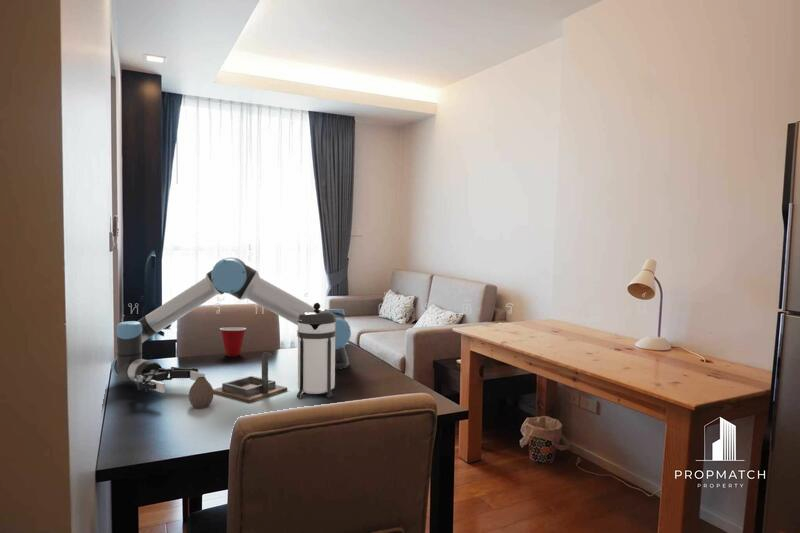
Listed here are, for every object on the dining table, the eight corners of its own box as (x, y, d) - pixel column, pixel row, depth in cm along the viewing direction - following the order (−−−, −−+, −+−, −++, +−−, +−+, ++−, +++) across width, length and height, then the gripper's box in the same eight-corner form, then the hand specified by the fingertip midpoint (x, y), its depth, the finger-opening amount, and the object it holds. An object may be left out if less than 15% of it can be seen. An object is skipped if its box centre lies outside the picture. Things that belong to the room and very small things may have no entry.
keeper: (250, 381, 180) (250, 342, 180) (288, 390, 170) (288, 349, 170) (212, 392, 167) (212, 350, 166) (250, 403, 157) (250, 358, 156)
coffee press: (350, 393, 169) (351, 303, 167) (310, 403, 157) (311, 307, 156) (319, 382, 181) (320, 298, 179) (280, 391, 169) (280, 301, 168)
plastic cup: (250, 352, 226) (250, 325, 225) (240, 358, 215) (240, 330, 215) (226, 351, 227) (226, 325, 226) (215, 357, 216) (215, 329, 216)
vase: (193, 402, 157) (192, 374, 156) (216, 402, 157) (216, 374, 157) (185, 410, 150) (185, 380, 149) (209, 409, 150) (209, 380, 150)
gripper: (180, 375, 179) (218, 385, 168) (107, 392, 159) (145, 405, 147) (179, 354, 179) (218, 363, 167) (106, 368, 158) (145, 379, 147)
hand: (184, 382), depth 157 cm, fingers open, 13 cm apart
